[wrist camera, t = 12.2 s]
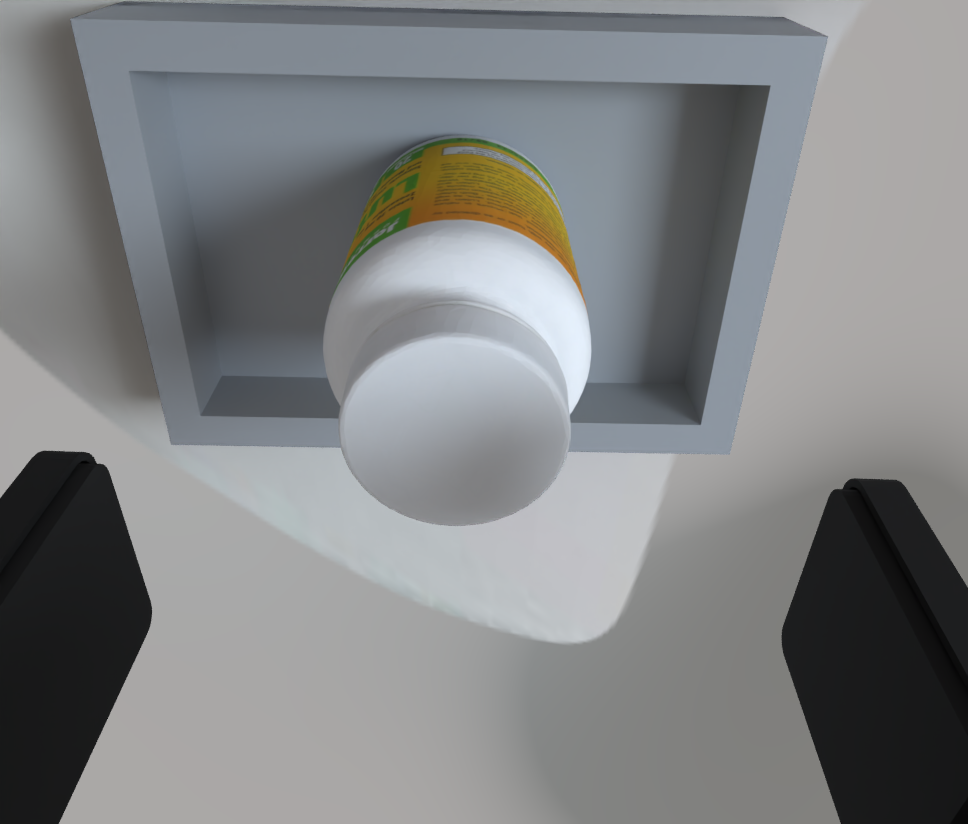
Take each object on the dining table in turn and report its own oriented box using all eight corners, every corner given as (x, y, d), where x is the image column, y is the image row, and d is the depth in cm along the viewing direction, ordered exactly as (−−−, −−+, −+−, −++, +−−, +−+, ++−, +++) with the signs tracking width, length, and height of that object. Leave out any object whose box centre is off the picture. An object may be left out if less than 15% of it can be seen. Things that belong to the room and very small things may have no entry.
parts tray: (784, 16, 19) (827, 36, 17) (705, 398, 26) (729, 454, 23) (123, 1, 19) (70, 18, 17) (202, 389, 25) (171, 444, 23)
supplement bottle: (402, 95, 20) (348, 241, 12) (598, 178, 21) (673, 364, 13) (339, 282, 22) (258, 506, 14) (515, 346, 24) (533, 588, 15)
